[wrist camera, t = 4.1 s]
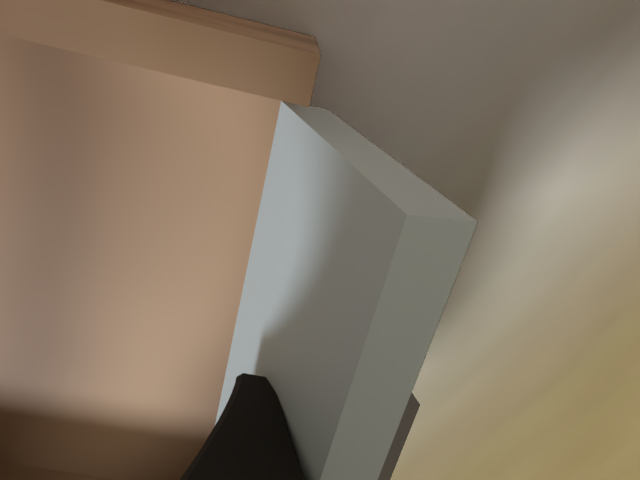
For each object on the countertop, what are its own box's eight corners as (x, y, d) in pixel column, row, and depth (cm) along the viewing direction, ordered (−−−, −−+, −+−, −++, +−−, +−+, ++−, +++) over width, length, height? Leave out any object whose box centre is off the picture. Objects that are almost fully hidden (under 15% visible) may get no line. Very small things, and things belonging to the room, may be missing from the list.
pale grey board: (199, 502, 15) (234, 740, 11) (280, 100, 11) (406, 214, 6) (253, 495, 16) (308, 717, 11) (353, 113, 11) (516, 225, 7)
